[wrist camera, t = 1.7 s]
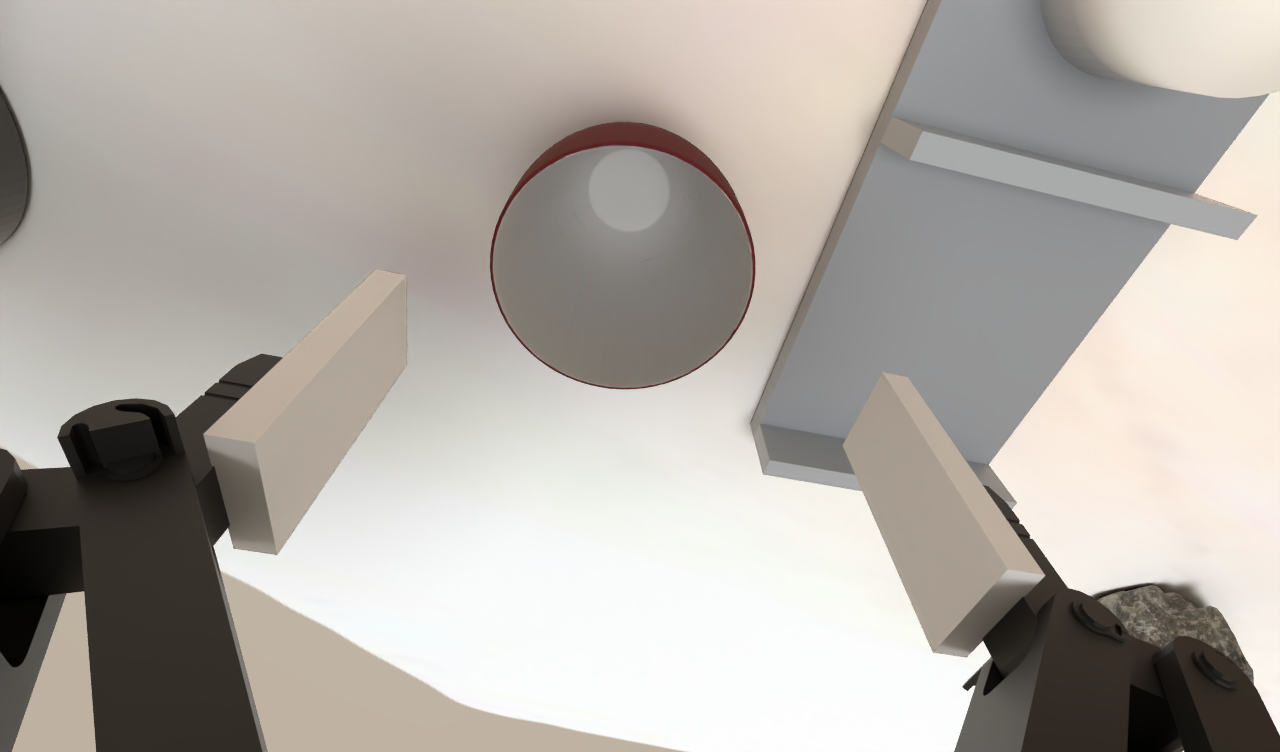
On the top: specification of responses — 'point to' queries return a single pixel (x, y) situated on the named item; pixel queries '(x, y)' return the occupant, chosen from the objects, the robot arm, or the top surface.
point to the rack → (986, 235)
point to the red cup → (623, 257)
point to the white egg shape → (1172, 43)
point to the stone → (1173, 621)
